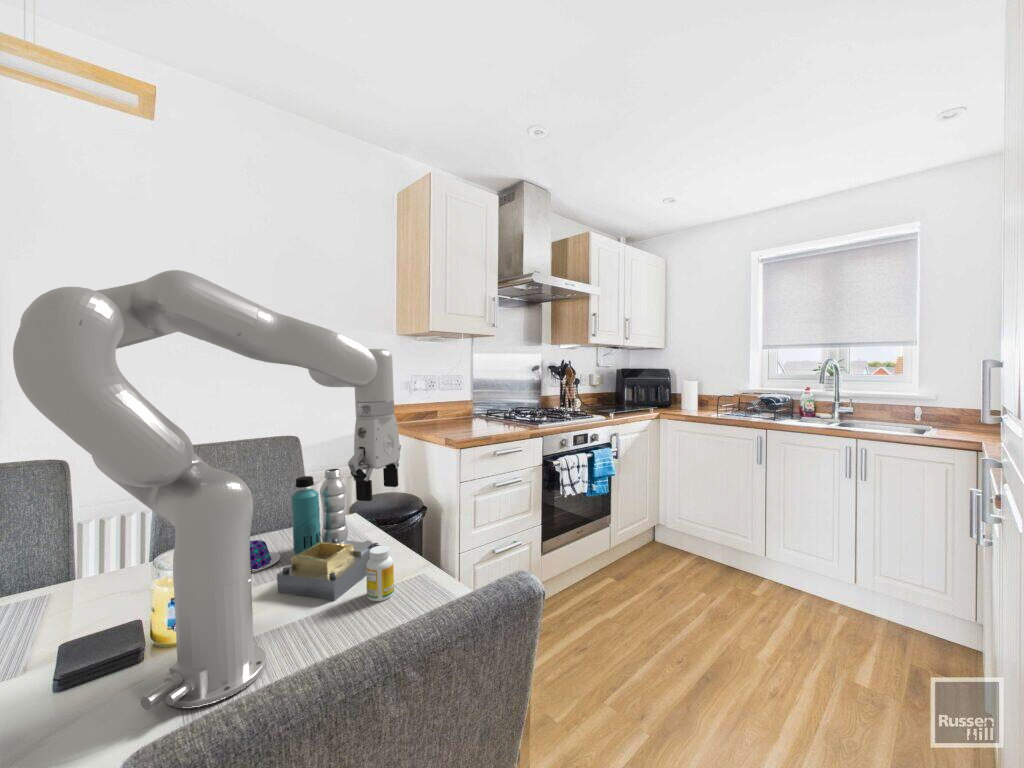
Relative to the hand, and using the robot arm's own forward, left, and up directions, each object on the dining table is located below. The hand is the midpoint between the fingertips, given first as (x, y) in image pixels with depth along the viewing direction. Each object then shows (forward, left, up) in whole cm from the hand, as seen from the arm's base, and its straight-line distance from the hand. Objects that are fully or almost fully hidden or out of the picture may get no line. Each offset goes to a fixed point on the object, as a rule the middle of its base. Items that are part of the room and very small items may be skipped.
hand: (378, 493), depth 88 cm
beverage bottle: (+13, +29, -21) cm, 38 cm away
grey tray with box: (+6, +15, -21) cm, 27 cm away
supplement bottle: (0, 0, -21) cm, 21 cm away
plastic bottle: (+21, +27, -21) cm, 40 cm away
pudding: (+6, +39, -22) cm, 45 cm away
